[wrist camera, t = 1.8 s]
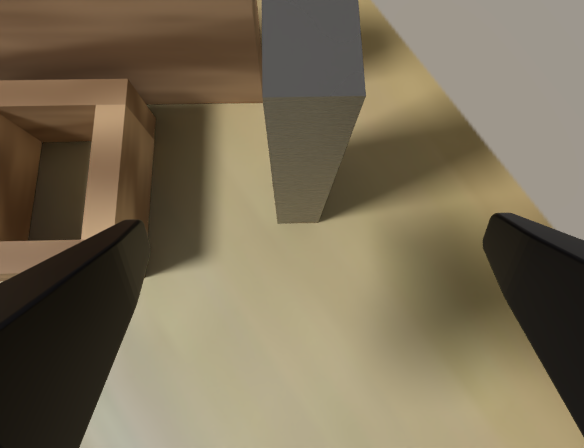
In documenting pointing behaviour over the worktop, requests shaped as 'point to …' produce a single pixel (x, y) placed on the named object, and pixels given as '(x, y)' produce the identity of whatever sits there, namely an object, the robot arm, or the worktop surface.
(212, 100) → the wooden socket
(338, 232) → the worktop surface
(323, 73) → the grey bar
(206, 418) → the worktop surface
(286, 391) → the worktop surface
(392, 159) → the worktop surface
